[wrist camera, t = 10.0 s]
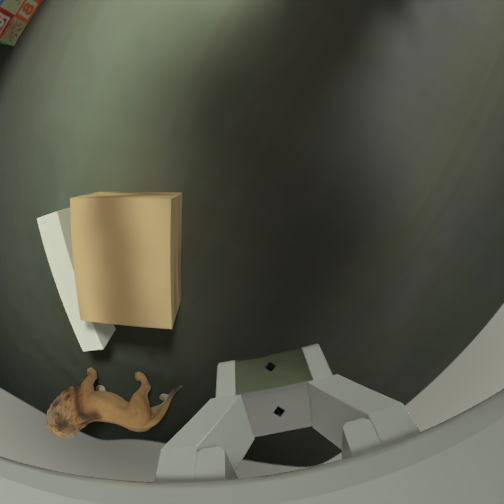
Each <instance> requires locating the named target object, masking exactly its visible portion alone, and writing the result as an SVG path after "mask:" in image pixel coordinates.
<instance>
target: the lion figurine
mask: <svg viewBox="0 0 504 504" xmlns="http://www.w3.org/2000/svg"><path fill="white" fill-rule="evenodd" d="M87 374H88V375H89V376H88V377H87V378H86V379H85V380H84V381H83V382H82V384H81V386H80V387H70V388H68V390H64V391H63V392H62V393H61V395H60V396H58V397H57V398H56V400H54V402H53V403H52V404H51V406H50V408H49V409H48V412H47V425H46V426H47V428H48V429H49V430H50V431H51V432H52V433H54V434H55V435H56V436H57V437H60V438H61V437H62V438H64V437H66V438H74V437H75V434H76V433H77V432H78V431H79V430H81V429H82V428H84V427H86V425H87V424H88V423H91V422H94V421H102V422H109V423H114V424H118V425H121V426H123V427H125V428H127V429H129V430H131V431H136V432H142V431H147V430H149V429H150V428H151V427H153V426H155V425H156V424H157V423H158V422H159V421H160V420H161V419H162V418H163V416H164V415H165V413H166V411H167V409H168V407H169V405H170V402H171V400H172V398H173V396H174V395H175V394H176V393H177V392H178V391H179V390H180V389H182V387H183V386H182V385H177V386H175V387H174V388H173V389H172V391H171V392H170V394H169V395H168V394H161V395H160V397H159V399H160V400H161V401H163V403H162V404H160V405H158V406H154V407H151V408H150V404H149V400H148V392H149V391H150V389H151V387H150V385H149V383H148V381H147V378H146V376H145V375H144V374H143V373H142V372H139V371H138V372H136V373H135V379H136V380H137V381H140V382H141V387H140V388H139V389H138V390H137V391H136V392H135V393H134V394H133V395H132V398H131V400H130V401H129V402H127V401H126V400H125V399H123V398H122V397H120V396H118V395H117V394H114V393H111V392H107V391H106V389H105V387H104V386H101V385H98V386H97V387H96V391H94V387H93V384H94V381H95V380H96V379H97V372H96V371H95V370H94V369H93V368H91V367H89V368H88V369H87Z"/></svg>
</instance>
